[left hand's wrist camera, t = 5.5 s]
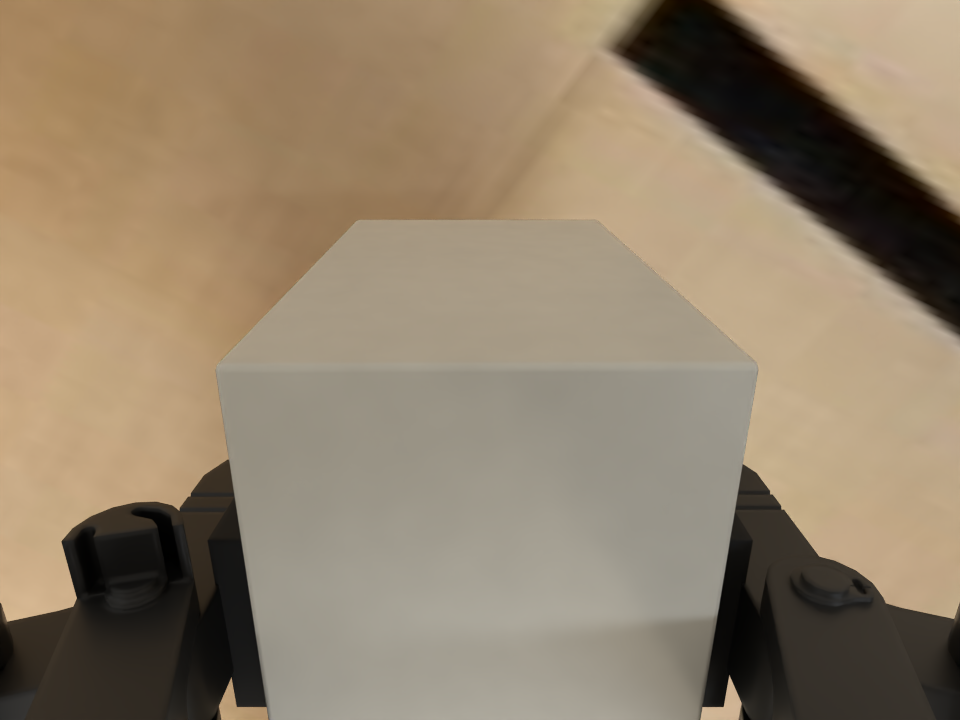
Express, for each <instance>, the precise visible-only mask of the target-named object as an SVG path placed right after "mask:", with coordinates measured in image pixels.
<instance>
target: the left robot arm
mask: <svg viewBox="0 0 960 720" xmlns="http://www.w3.org/2000/svg"><path fill="white" fill-rule="evenodd" d="M62 545H63V549H64V552H65V556H66V560H67V563H68V567H69V571H70V574H71V578H72V582H73V585H74V589H75V593H76V596H77V600H76V602H75V604H74V607H71V608H67V609H64V610H60V611H56V612H51V613H47V614H42V615H37V616H33V617H28V618H23V619H19V620H14V621H9V622H7V620H6V617H5V614H4V611H3V608H2V605H1V603H0V720H221V715H220V710H219V704H220V702H221V700H222V697H223V695H224V693H225V691H226V688H227V686H228V684H229V681H230V679H231V677H232V682H233V688H234V693H235V699H236V705H237V707H267V706H266V699H265V692H264V686H263V679H262V673H261V666H260V660H259V653H258V646H257V640H256V633H255V627H254V620H253V613H252V607H251V600H250V594H249V587H248V581H247V574H246V567H245V561H244V554H243V548H242V541H241V534H240V528H239V521H238V515H237V508H236V502H235V495H234V488H233V482H232V475H231V469H230V462H229V460H227V461H225V462H224V463H222V464H221V465H219V466H217V467H216V468H214V469H213V470H211V471H210V472H208V473H207V474H205V475H204V476H203V478H202V479H201V480H200V482H199V483H198V484H197V486H196V487H195V488H194V490H193V491H192V492H191V497H188V498H187V499H186V501H185V502H184V503H183V505H182V506H181V507H180V511H179V510H177V509H176V508H175V507H174V506H172V505H168V504H163V503H159V502H138V503H131V504H127V505H122V506H118V507H113V508H111V509H108V510H106V511H103V512H101V513H98V514H96V515H93V516H91V517H89V518H88V519H86V520H85V521H83V522H82V523H80V524H79V525H77V526H76V527H74V528H73V529H72V530H71V531H70V532H69V533H68V535H67V536H66V537H65V538H64V539H63V540H62ZM729 675H730V677H731V679H732V682H733V684H734V686H735V689H736V691H737V693H738V695H739V698H740V700H741V702H742V705H741V710H740V715H739V720H960V604H959V607H958V610H957V613H956V616H955V619H951V618H946V617H941V616H937V615H932V614H927V613H922V612H918V611H913V610H908V609H904V608H900V607H896V606H893V605H889V604H886V603H885V601H884V599H883V597H882V595H881V594H880V593H879V591H878V590H877V589H876V587H875V586H874V584H873V583H872V582H870V581H869V580H868V579H866V578H865V577H864V576H862V575H861V574H860V573H858V572H857V571H856V570H853V569H851V568H849V567H847V566H845V565H843V564H841V563H838V562H836V561H834V560H830V559H826V558H822V557H819V556H818V554H817V553H816V552H815V550H814V549H813V548H812V546H811V545H810V544H809V542H808V541H807V540H806V538H805V537H804V536H803V534H802V533H801V532H800V530H799V529H798V528H797V526H796V525H795V524H794V522H793V521H792V520H791V518H790V517H789V516H788V514H787V513H786V512H785V510H781V505H780V504H779V502H778V501H777V500H776V498H775V497H774V496H773V495H770V490H769V489H768V488H767V486H766V485H765V484H764V482H763V481H762V480H761V478H760V477H759V476H758V474H757V473H756V472H754V471H753V470H751V469H749V468H748V467H746V466H745V465H742V471H741V477H740V483H739V489H738V495H737V501H736V507H735V513H734V519H733V525H732V531H731V537H730V543H729V549H728V555H727V561H726V567H725V573H724V579H723V585H722V591H721V597H720V603H719V609H718V615H717V622H716V628H715V634H714V640H713V646H712V652H711V658H710V664H709V670H708V676H707V682H706V688H705V694H704V700H703V706H702V707H724V701H725V696H726V690H727V685H728V679H729Z"/></svg>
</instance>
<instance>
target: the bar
mask: <svg viewBox="0 0 960 720" xmlns="http://www.w3.org/2000/svg"><path fill="white" fill-rule="evenodd" d="M757 374H758V366H757V362H755V361H754V360H753V359H752V358H751V357H750V356H749V355H748V354H746V353H745V352H744V351H743V350H742V349H741V348H740V347H739V346H737V345H736V344H735V343H734V342H733V341H732V340H731V339H730V338H729V337H727V336H726V335H725V334H724V333H723V332H722V331H721V330H720V329H718V328H717V327H716V326H715V325H714V324H713V323H712V322H711V321H709V320H708V319H707V318H706V317H705V316H704V315H703V314H702V313H701V312H699V311H698V310H697V309H696V308H695V307H694V306H693V305H692V304H690V303H689V302H688V301H687V300H686V299H685V298H684V297H683V296H681V295H680V294H679V293H678V292H677V291H676V290H675V289H674V288H673V287H671V286H670V285H669V284H668V283H667V282H666V281H665V280H664V279H662V278H661V277H660V276H659V275H658V274H657V273H656V272H655V271H654V270H652V269H651V268H650V267H649V266H648V265H647V264H646V263H645V262H643V261H642V260H641V259H640V258H639V257H638V256H637V255H636V254H634V253H633V252H632V251H631V250H630V249H629V248H628V247H627V246H626V245H624V244H623V243H622V242H621V241H620V240H619V239H618V238H617V237H615V236H614V235H613V234H612V233H611V232H610V231H609V230H608V229H606V228H605V227H604V226H603V225H602V224H601V223H600V222H599V221H597V220H358V221H356V222H355V223H354V224H353V225H352V226H351V227H350V228H349V229H348V230H347V231H346V232H345V233H344V234H343V235H342V236H341V237H340V238H339V239H338V240H337V241H336V243H335V244H334V245H333V246H332V247H331V248H330V249H329V250H328V251H327V252H326V253H325V254H324V255H323V256H322V257H321V258H320V259H319V260H318V261H317V262H316V263H315V264H314V265H313V266H312V267H311V268H310V269H309V270H308V271H307V272H306V273H305V274H304V275H303V277H302V278H301V279H300V280H299V281H298V282H297V283H296V284H295V285H294V286H293V287H292V288H291V289H290V290H289V291H288V292H287V293H286V294H285V295H284V296H283V297H282V298H281V299H280V300H279V301H278V302H277V303H276V304H275V305H274V306H273V307H272V308H271V309H270V311H269V312H268V313H267V314H266V315H265V316H264V317H263V318H262V319H261V320H260V321H259V322H258V323H257V324H256V325H255V326H254V327H253V328H252V329H251V330H250V331H249V332H248V333H247V334H246V335H245V336H244V337H243V338H242V339H241V340H240V341H239V342H238V343H237V344H236V346H235V347H234V348H233V349H232V350H231V351H230V352H229V353H228V354H227V355H226V356H225V357H224V358H223V359H222V360H221V361H220V362H219V363H218V364H217V367H216V377H217V383H218V390H219V396H220V403H221V409H222V416H223V423H224V429H225V436H226V442H227V449H228V456H229V462H230V469H231V475H232V482H233V488H234V495H235V502H236V508H237V515H238V521H239V528H240V534H241V541H242V548H243V554H244V561H245V567H246V574H247V581H248V587H249V594H250V600H251V607H252V613H253V620H254V627H255V633H256V640H257V646H258V653H259V660H260V666H261V673H262V679H263V686H264V692H265V699H266V706H267V712H268V719H269V720H700V718H701V712H702V706H703V700H704V694H705V688H706V682H707V676H708V670H709V664H710V658H711V652H712V646H713V640H714V634H715V628H716V622H717V615H718V609H719V603H720V597H721V591H722V585H723V579H724V573H725V567H726V561H727V555H728V549H729V543H730V537H731V531H732V525H733V519H734V513H735V507H736V501H737V495H738V489H739V483H740V477H741V471H742V465H743V459H744V453H745V447H746V441H747V435H748V429H749V423H750V417H751V411H752V405H753V399H754V393H755V387H756V381H757Z"/></svg>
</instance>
